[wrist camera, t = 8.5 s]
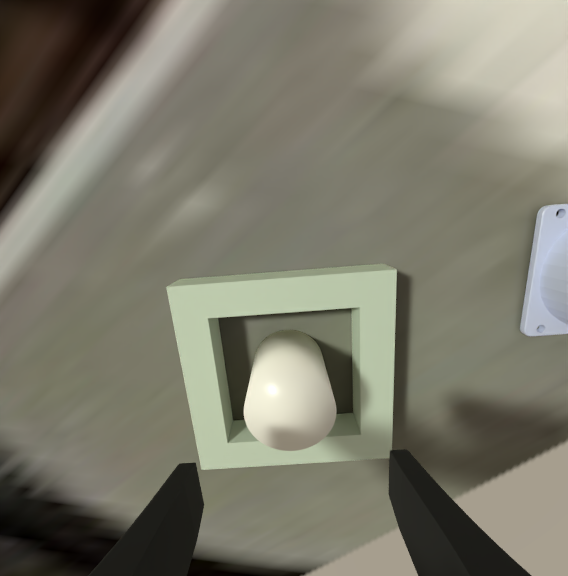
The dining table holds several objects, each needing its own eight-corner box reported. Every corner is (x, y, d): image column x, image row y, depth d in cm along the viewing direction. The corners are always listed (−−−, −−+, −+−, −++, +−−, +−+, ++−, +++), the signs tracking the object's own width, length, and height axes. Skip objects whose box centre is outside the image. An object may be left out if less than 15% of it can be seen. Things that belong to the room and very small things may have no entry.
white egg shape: (321, 327, 17) (335, 368, 13) (323, 389, 19) (337, 448, 14) (251, 331, 18) (238, 374, 13) (257, 392, 19) (248, 453, 14)
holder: (383, 263, 16) (396, 269, 14) (381, 434, 19) (391, 458, 18) (180, 279, 17) (166, 286, 15) (209, 445, 20) (201, 469, 18)
